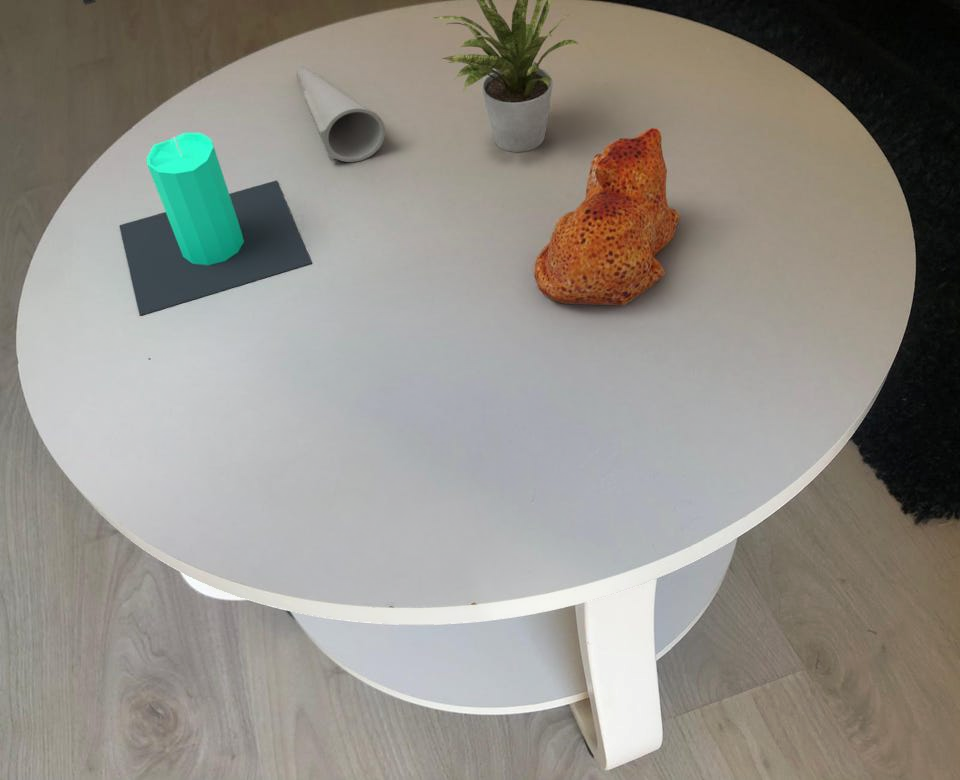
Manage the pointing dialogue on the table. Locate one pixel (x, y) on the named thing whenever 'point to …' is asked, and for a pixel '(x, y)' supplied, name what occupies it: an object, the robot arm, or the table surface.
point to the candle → (195, 198)
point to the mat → (177, 280)
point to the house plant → (511, 74)
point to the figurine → (612, 229)
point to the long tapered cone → (341, 119)
